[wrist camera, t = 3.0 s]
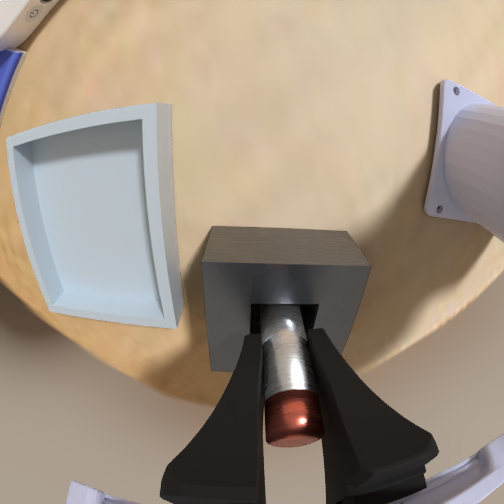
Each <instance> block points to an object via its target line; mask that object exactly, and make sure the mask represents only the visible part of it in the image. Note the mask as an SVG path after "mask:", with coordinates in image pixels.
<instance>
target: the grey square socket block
mask: <svg viewBox="0 0 504 504" xmlns="http://www.w3.org/2000/svg"><path fill="white" fill-rule="evenodd" d="M370 269H371V264H370V263H369V261H368V260H367V259H366V257H365V256H364V254H363V253H362V251H361V250H360V249H359V247H358V246H357V245H356V243H355V242H354V240H353V239H352V238H351V236H350V235H349V234H348V232H347V231H331V230H310V229H287V228H261V227H228V226H212V229H211V232H210V235H209V239H208V242H207V245H206V249H205V252H204V255H203V259H202V274H203V288H204V301H205V313H206V325H207V335H208V345H209V355H210V364H211V371H223V372H234V370H235V367H236V365H237V362H238V359H239V356H240V353H241V350H242V346H243V342H244V336H246V335H247V334H261V322H260V306H258V305H251V303H257V304H299V306H300V311H301V315H302V320H303V324H304V329H305V333H306V338H307V339H308V329H317V328H323V329H324V330H325V331H326V333H327V335H328V336H329V338H330V340H331V341H332V343H333V344H334V346H335V347H336V349H337V350H338V351H339V353H340V354H342V352H343V349H344V347H345V344H346V342H347V339H348V336H349V334H350V331H351V328H352V325H353V323H354V320H355V317H356V314H357V311H358V308H359V305H360V302H361V299H362V296H363V293H364V289H365V286H366V283H367V280H368V276H369V273H370Z"/></svg>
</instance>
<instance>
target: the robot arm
mask: <svg viewBox="0 0 504 504" xmlns="http://www.w3.org/2000/svg"><path fill="white" fill-rule="evenodd" d="M453 89H455V93H454V91H453ZM438 206H439V209H438V210H437V207H438ZM424 211H425V212H426V214H428V215H429V216H431V217H439V218H446V219H453V220H460V221H466V222H473V223H478V224H479V225H481V226H482V227H484V228H485V229H486V230H488V231H489V232H490V233H492V234H493V235H494V236H496V237H497V238H498V239H500V240H501V241H502V242H504V107H501V106H496V105H495V104H493V103H491V102H490V101H488V100H486V99H485V98H483V97H481V96H480V95H478V94H476V93H474V92H473V91H471V90H469V89H467V88H465V87H463V86H461V85H459V84H457V83H455V82H453V81H451V80H448V79H444V80H442V81H441V83H440V101H439V116H438V127H437V136H436V144H435V151H434V158H433V164H432V170H431V176H430V181H429V186H428V191H427V196H426V200H425V204H424ZM307 343H308V347H309V352H310V357H311V361H312V366H313V371H314V376H315V381H316V386H317V391H318V396H319V401H320V407H321V412H322V417H323V423H324V428H325V435H324V436H323V437H322V438H321V439H322V447H323V457H324V468H325V483H326V504H398V503H399V504H477V503H479V502H480V501H481V500H482V499H483V498H485V497H486V496H488V495H489V494H490V493H491V492H492V491H494V490H495V489H496V488H497V487H499V486H500V485H501V484H502V483H503V482H504V434H502V435H500V436H499V437H497V438H496V439H494V440H493V441H491V442H490V443H489V444H487V445H486V446H484V447H483V448H482V449H480V450H479V451H478V452H477V453H475V454H474V455H472V456H471V457H469V458H467V459H465V460H464V461H462V462H460V463H458V464H456V465H455V466H453V467H451V468H449V469H447V470H445V471H443V472H441V473H439V474H437V475H434V476H432V477H430V478H428V479H426V480H425V477H424V473H425V472H426V469H425V464H427V463H428V462H430V461H431V460H432V459H434V458H435V457H436V456H437V455H438V453H439V450H438V447H437V444H436V442H435V440H434V438H433V436H432V434H431V433H429V432H427V431H426V430H424V429H422V428H420V427H419V426H417V425H415V424H414V423H412V422H410V421H409V420H407V419H406V418H404V417H403V416H401V415H400V414H399V413H397V412H396V411H395V410H394V409H392V408H391V407H390V406H389V405H387V404H386V403H384V401H382V400H381V399H380V398H379V397H378V396H377V395H376V394H375V393H374V392H372V391H371V390H370V388H369V387H368V386H367V385H366V384H365V383H364V382H363V381H362V380H361V379H360V378H359V377H358V375H357V374H356V373H355V372H354V371H353V370H352V368H351V367H350V366H349V365H348V363H347V362H346V361H345V359H344V358H343V357H342V356H341V354H340V353H339V351H338V350H337V349H336V347H335V346H334V344H333V343H332V341H331V340H330V338H329V336H328V335H327V333H326V331H325V330H324V329H323V328H317V329H308V339H307ZM263 412H264V385H263V350H262V336H261V334H247V335H246V336H244V342H243V346H242V350H241V353H240V356H239V359H238V362H237V365H236V367H235V370H234V372H233V375H232V377H231V379H230V381H229V383H228V385H227V388H226V390H225V392H224V394H223V395H222V397H221V399H220V401H219V403H218V404H217V406H216V408H215V409H214V411H213V412H212V414H211V415H210V417H209V418H208V420H207V421H206V423H205V424H204V425H203V427H202V428H201V429H200V431H199V432H198V433H197V434H196V436H195V437H194V438H193V439H192V440H191V442H190V443H189V444H188V445H187V446H186V447H185V448H184V449H183V450H182V452H180V453H179V454H178V455H177V456H176V457H175V458H174V459H173V460H172V461H171V462H170V463H169V464H168V466H167V467H166V470H165V472H164V475H163V478H162V481H161V489H160V497H161V498H162V499H164V500H167V501H169V502H171V503H173V504H266V498H265V477H264V457H263V435H262V434H263V432H262V431H263ZM66 504H139V503H135V502H131V501H127V500H124V499H120V498H117V497H114V496H111V495H107V494H105V493H103V492H102V491H99V490H97V489H95V488H92V487H90V486H87V485H85V484H82V483H80V482H77V481H75V480H72V481H71V484H70V488H69V492H68V496H67V501H66Z"/></svg>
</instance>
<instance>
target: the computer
mask: <svg viewBox="0 0 504 504" xmlns="http://www.w3.org/2000/svg"><path fill="white" fill-rule="evenodd" d="M58 1H59V0H0V51H2V50H4V49H5V48H16V47H18V46H19V45H20V44H22V43H23V42H24V41H25V40H26V39H27V38H28V37H29V36H30V35H31V34H32V32H33V31H34V30H35V29H36V28H37V26H38V25H39V24H40V23H41V21H42V20H43V19H44V18H45V16H46V15H47V14H48V13H49V12H50V10H51V9H52V8H53V7H54V6H55V5H56V4H57V2H58Z"/></svg>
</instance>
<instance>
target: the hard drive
mask: <svg viewBox="0 0 504 504" xmlns="http://www.w3.org/2000/svg"><path fill="white" fill-rule="evenodd" d="M26 55H27V52H25V51H22V50H19V49H16V48H5V49H4V50H2V51H0V126H1V122H2V119H3V116H4V112H5V109H6V106H7V103H8V100H9V97H10V94H11V91H12V88H13V86H14V83H15V81H16V78H17V76H18V73H19V71H20V68H21V66H22V64H23V62H24V59H25V57H26Z"/></svg>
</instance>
